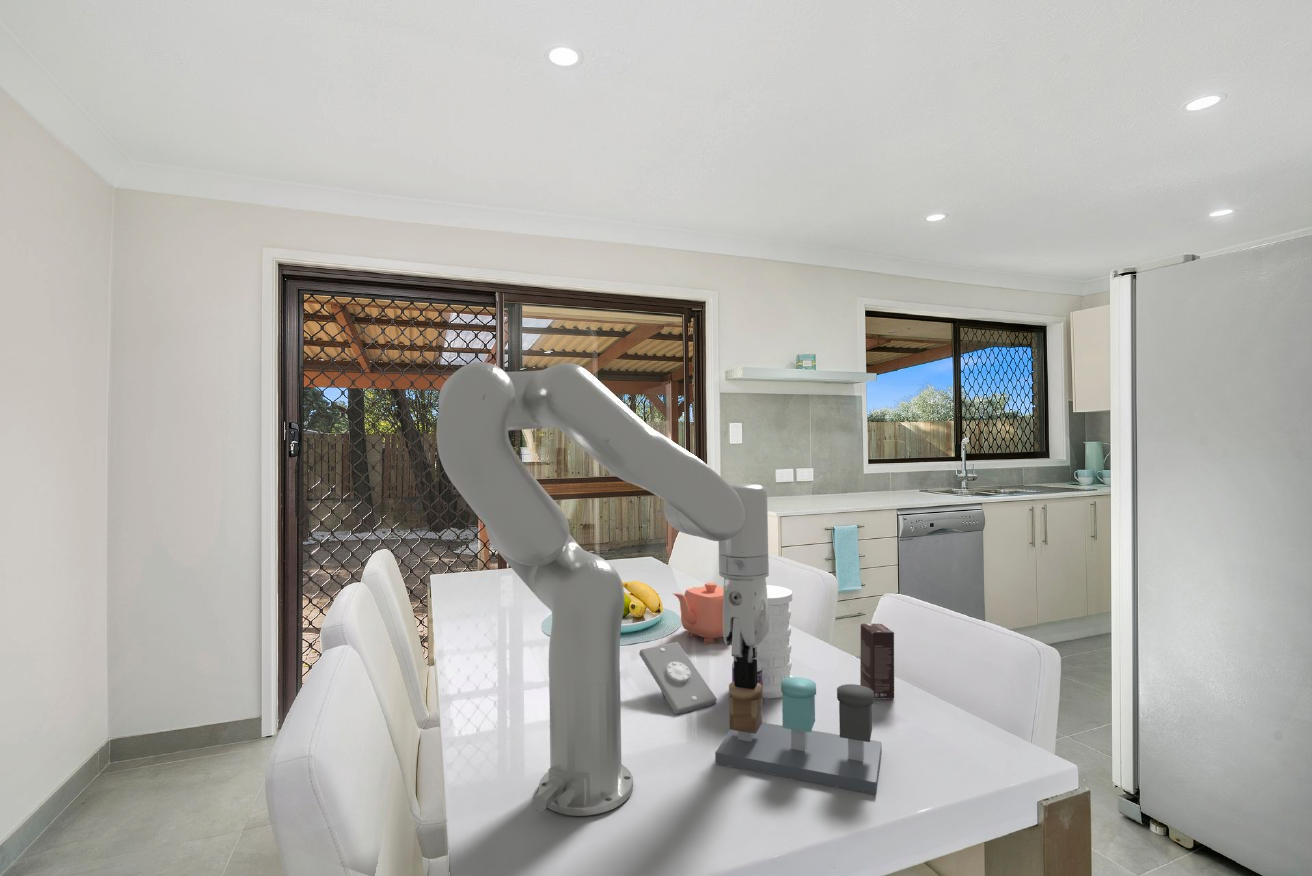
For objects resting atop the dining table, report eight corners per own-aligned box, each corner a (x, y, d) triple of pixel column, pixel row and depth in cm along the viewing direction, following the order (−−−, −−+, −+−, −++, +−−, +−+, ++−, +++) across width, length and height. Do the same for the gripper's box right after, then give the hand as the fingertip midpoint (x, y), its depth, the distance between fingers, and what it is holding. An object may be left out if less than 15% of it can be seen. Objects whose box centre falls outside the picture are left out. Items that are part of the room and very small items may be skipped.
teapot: (673, 644, 145) (672, 589, 145) (688, 624, 161) (688, 575, 161) (737, 649, 141) (736, 593, 141) (747, 628, 156) (746, 577, 157)
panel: (876, 794, 82) (875, 745, 82) (715, 763, 90) (714, 719, 91) (881, 752, 93) (880, 709, 93) (737, 728, 102) (737, 688, 102)
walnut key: (758, 735, 92) (757, 694, 92) (725, 730, 94) (724, 690, 94) (766, 721, 96) (765, 682, 96) (734, 716, 98) (734, 678, 98)
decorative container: (754, 702, 111) (752, 601, 112) (723, 680, 122) (722, 588, 122) (808, 692, 116) (806, 594, 116) (774, 671, 127) (772, 582, 127)
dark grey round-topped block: (873, 744, 85) (872, 700, 85) (835, 738, 87) (834, 695, 87) (875, 728, 90) (875, 687, 90) (839, 723, 92) (839, 682, 92)
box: (896, 699, 112) (895, 632, 112) (871, 700, 112) (870, 632, 112) (883, 686, 118) (881, 622, 118) (859, 687, 118) (858, 623, 118)
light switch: (679, 706, 106) (641, 645, 117) (670, 730, 109) (634, 668, 120) (719, 695, 111) (678, 637, 122) (710, 718, 113) (671, 660, 124)
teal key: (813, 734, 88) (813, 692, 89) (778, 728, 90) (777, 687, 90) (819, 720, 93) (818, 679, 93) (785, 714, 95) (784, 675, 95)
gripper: (755, 576, 87) (758, 709, 87) (778, 557, 101) (780, 672, 100) (704, 573, 90) (706, 701, 90) (733, 555, 103) (735, 666, 103)
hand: (745, 685), depth 95 cm, fingers closed
